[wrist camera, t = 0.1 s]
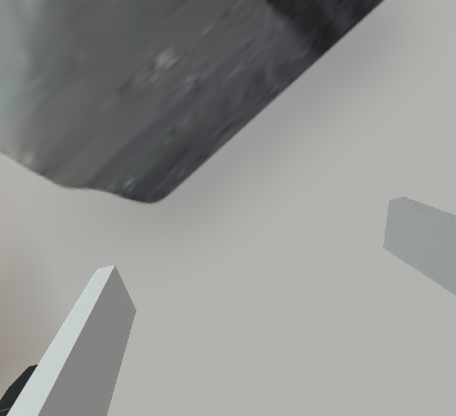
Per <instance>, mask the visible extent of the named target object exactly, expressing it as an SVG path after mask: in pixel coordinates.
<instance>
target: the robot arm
mask: <svg viewBox="0 0 456 416" xmlns="http://www.w3.org/2000/svg"><path fill="white" fill-rule="evenodd" d="M384 248H385V249H386V250H388V251H389V252H391V253H393V254H394V255H395V256H397V257H398V258H400V259H402V260H403V261H404V262H406V263H407V264H409V265H410V266H412V267H413V268H415V269H417V270H418V271H419V272H421V273H423V274H424V275H425V276H427V277H428V278H430V279H432V280H433V281H434V282H436V283H437V284H439V285H441V286H442V287H443V288H445V289H447V290H448V291H450V292H451V293H453V294H454V295H456V216H455V215H452V214H450V213H447V212H444V211H441V210H439V209H436V208H433V207H430V206H427V205H424V204H422V203H419V202H416V201H414V200H411V199H408V198H405V197H401V198H397V199H393V200H390V201H389V208H388V216H387V224H386V232H385V240H384ZM135 313H136V309H135V307H134V305H133V303H132V300H131V298H130V296H129V294H128V292H127V290H126V288H125V285H124V283H123V281H122V279H121V277H120V274H119V272H118V270H117V268H116V266H115V265H112V266H108V267H104V268H100V269H97V270H96V272H95V273H94V275H93V277H92V278H91V280H90V282H89V283H88V285H87V286H86V288H85V290H84V291H83V293H82V294H81V296H80V298H79V299H78V301H77V303H76V304H75V306H74V307H73V309H72V311H71V312H70V314H69V316H68V317H67V319H66V320H65V322H64V324H63V325H62V327H61V329H60V330H59V332H58V334H57V335H56V337H55V338H54V340H53V341H52V343H51V345H50V346H49V348H48V350H47V351H46V353H45V355H44V356H43V358H42V359H41V361H40V362H39V364H38V365H34V366H30V367H28V368H27V369H26V370H25V371H24V372H23V373H22V375H21V376H20V377H19V378H18V379H17V380H16V381H15V382H14V383H13V384H12V385H11V386H10V387H9V388H8V390H7V391H6V393H5V394H4V396H3V397H2V399H1V400H0V416H107V412H108V409H109V405H110V401H111V398H112V394H113V391H114V387H115V384H116V380H117V377H118V373H119V370H120V366H121V363H122V359H123V355H124V352H125V348H126V345H127V341H128V338H129V334H130V330H131V327H132V323H133V320H134V316H135Z"/></svg>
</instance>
